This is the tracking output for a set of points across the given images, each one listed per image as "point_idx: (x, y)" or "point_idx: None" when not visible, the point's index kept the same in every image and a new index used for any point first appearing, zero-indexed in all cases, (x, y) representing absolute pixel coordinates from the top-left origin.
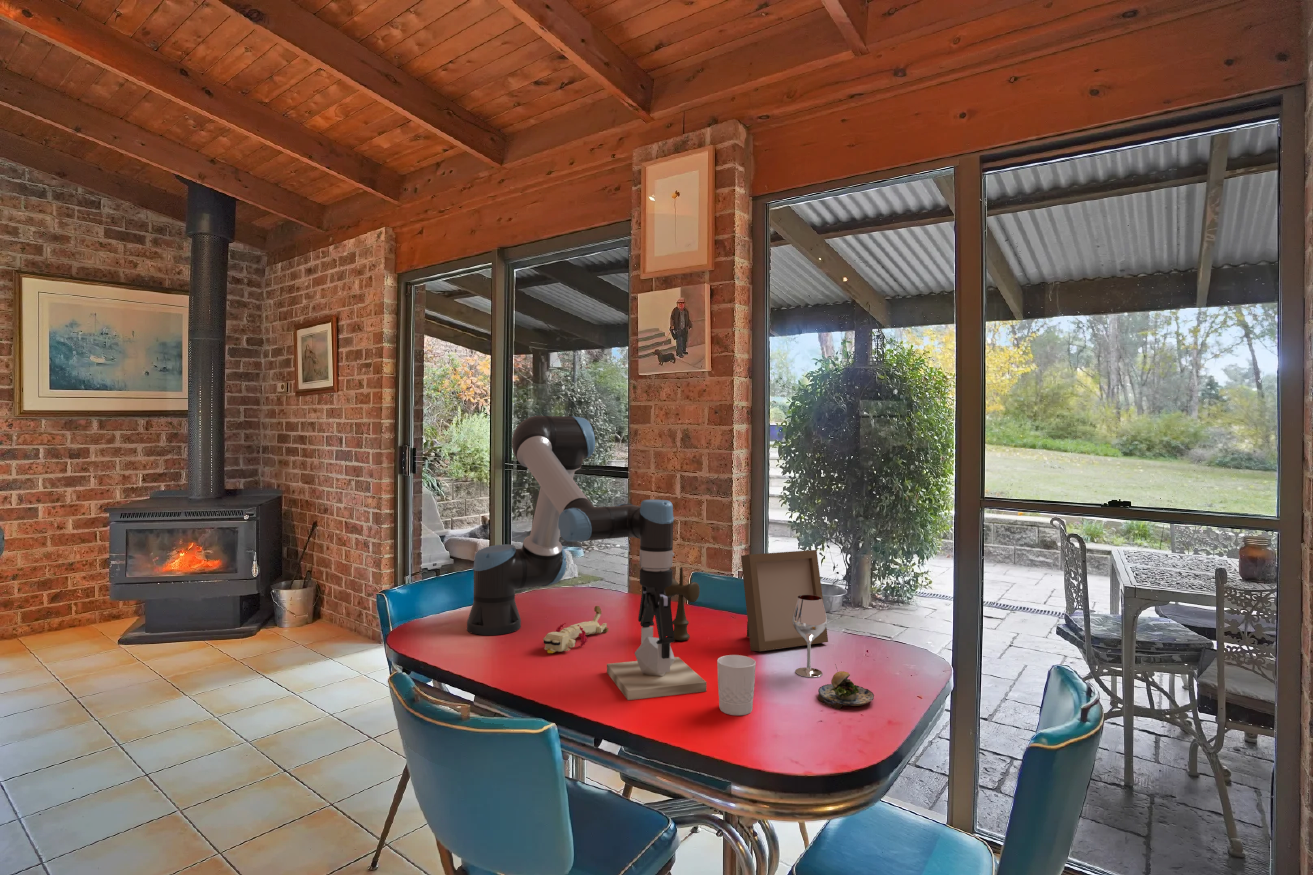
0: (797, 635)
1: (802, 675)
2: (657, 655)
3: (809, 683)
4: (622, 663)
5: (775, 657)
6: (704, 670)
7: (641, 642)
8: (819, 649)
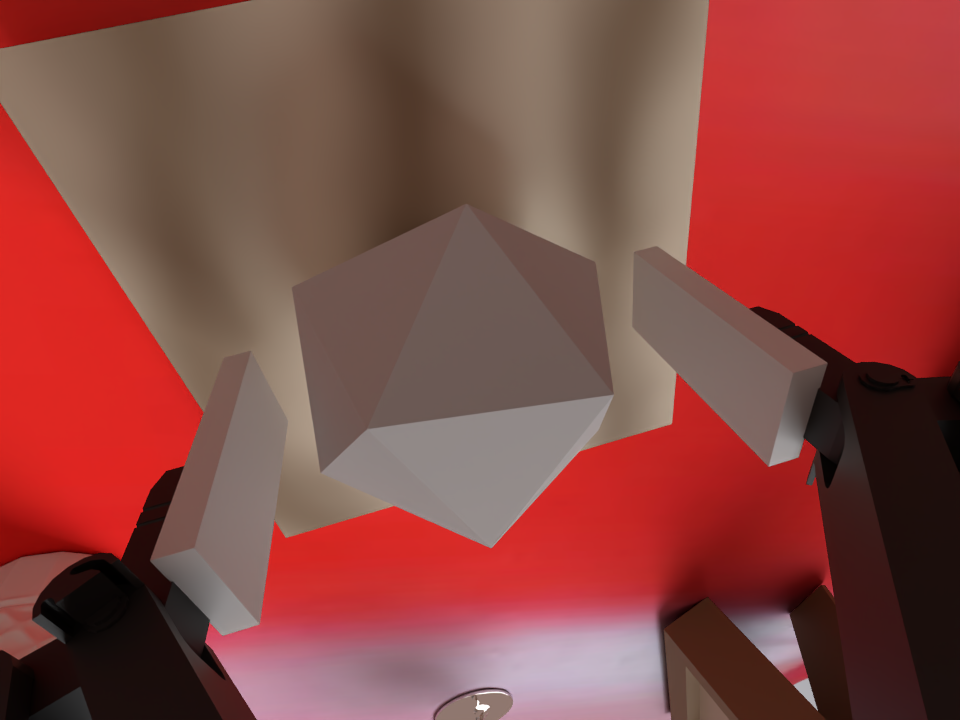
0: (702, 712)
1: (447, 705)
2: (323, 414)
3: (386, 717)
4: (678, 77)
5: (621, 646)
6: (555, 489)
7: (709, 289)
8: (645, 707)
